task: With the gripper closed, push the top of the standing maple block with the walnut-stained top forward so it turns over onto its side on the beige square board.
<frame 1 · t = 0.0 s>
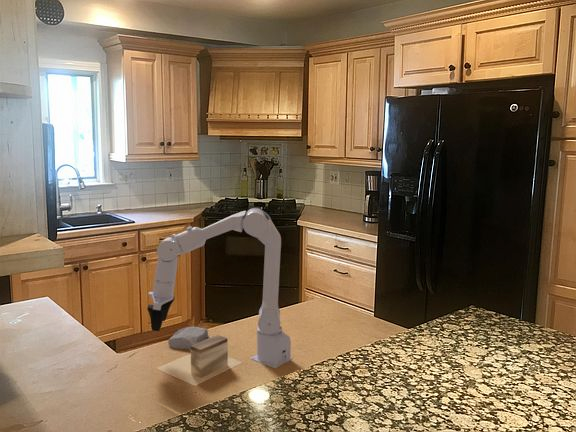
hand: (158, 325, 153), 11 cm above the worktop, tool pointing down, fingers open, 7 cm apart
beige square board: (200, 366, 150), on the worktop
stone block: (187, 343, 167), on the worktop
maple block: (209, 369, 148), resting on beige square board
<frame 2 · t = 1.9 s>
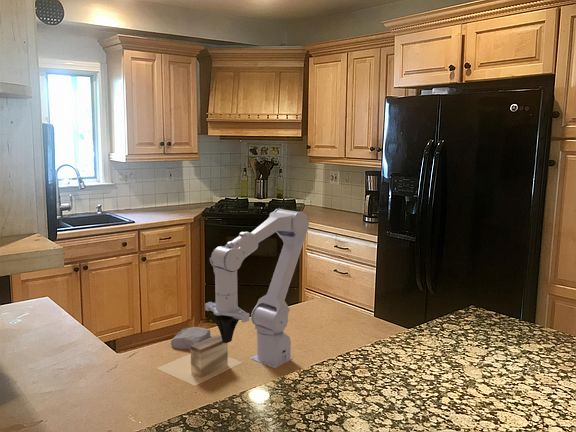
hand: (227, 341, 142), 10 cm above the worktop, tool pointing down, fingers closed
nothing on the worktop moved.
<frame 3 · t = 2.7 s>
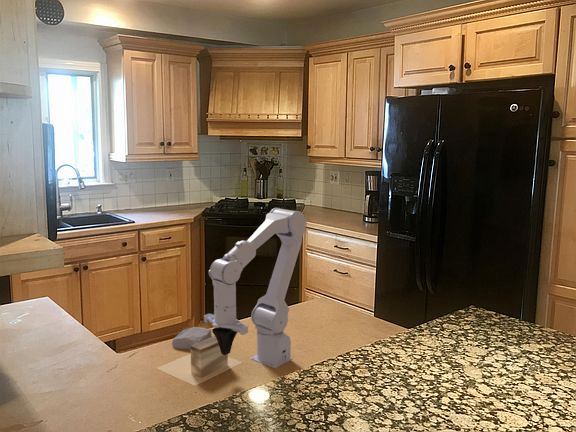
hand: (225, 353, 143), 7 cm above the worktop, tool pointing down, fingers closed
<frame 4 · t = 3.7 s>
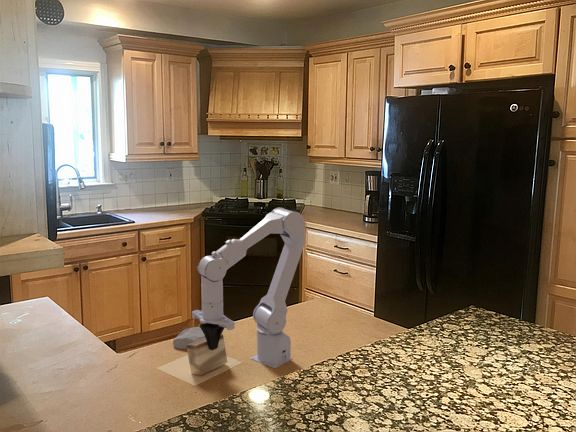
hand: (213, 348, 146), 7 cm above the worktop, tool pointing down, fingers closed
maple block: (209, 367, 148), point 1 cm above the worktop, tilted 12°, touching beige square board
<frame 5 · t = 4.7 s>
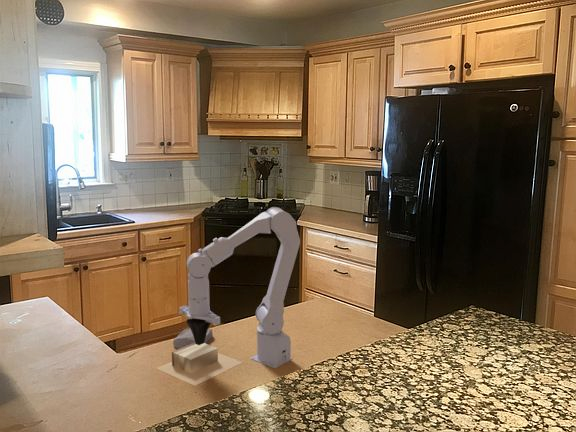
hand: (199, 343, 149), 7 cm above the worktop, tool pointing down, fingers closed
maple block: (204, 360, 149), point 2 cm above the worktop, tilted 90°, touching beige square board
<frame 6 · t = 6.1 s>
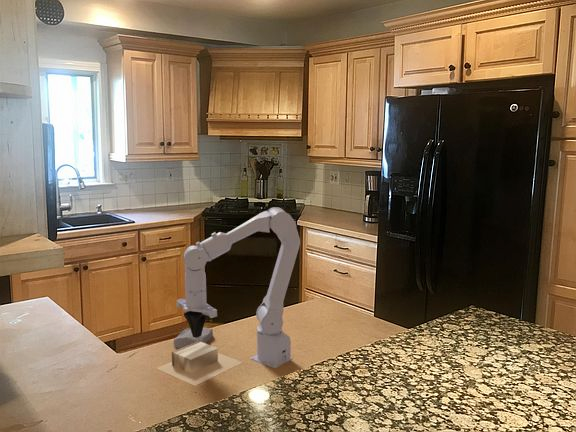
hand: (197, 336, 149), 9 cm above the worktop, tool pointing down, fingers closed
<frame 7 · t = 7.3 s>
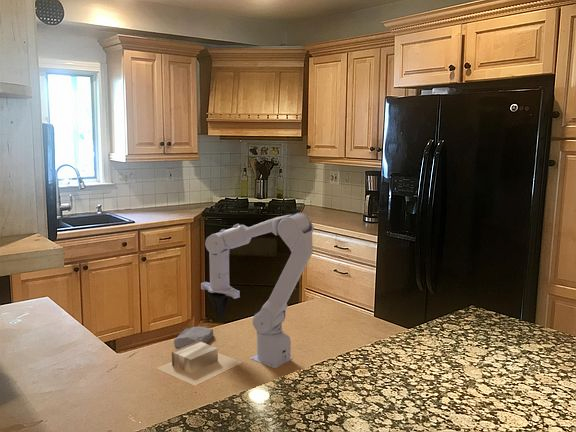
hand: (220, 316, 160), 10 cm above the worktop, tool pointing down, fingers closed
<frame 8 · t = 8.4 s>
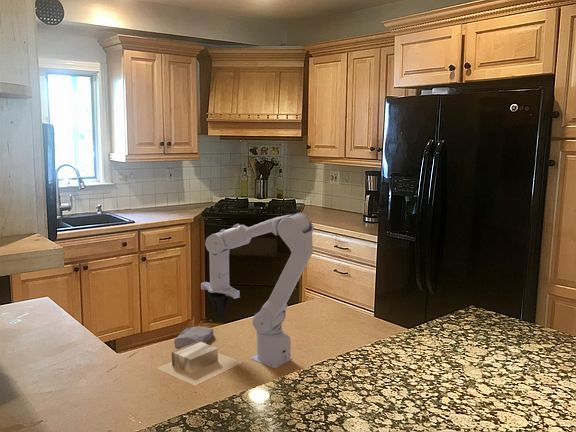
hand: (220, 316, 160), 10 cm above the worktop, tool pointing down, fingers closed
at the end: maple block tilted 90°; maple block inside the target area (1.5 cm from its centre), point 2.4 cm above the worktop; the gripper is holding nothing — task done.
